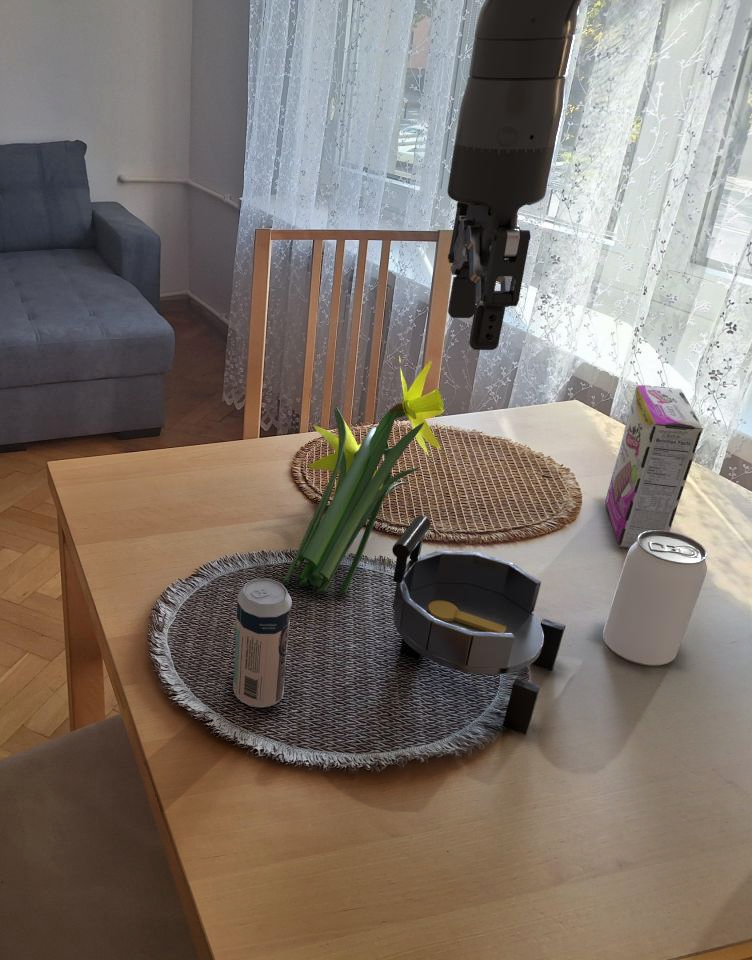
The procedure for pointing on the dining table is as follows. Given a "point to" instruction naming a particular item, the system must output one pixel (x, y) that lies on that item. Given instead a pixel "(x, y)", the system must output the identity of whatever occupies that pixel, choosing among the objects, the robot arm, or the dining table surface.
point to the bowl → (465, 606)
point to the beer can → (261, 642)
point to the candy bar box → (652, 462)
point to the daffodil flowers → (360, 485)
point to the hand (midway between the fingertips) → (470, 331)
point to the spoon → (461, 617)
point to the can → (655, 597)
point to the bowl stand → (522, 690)
